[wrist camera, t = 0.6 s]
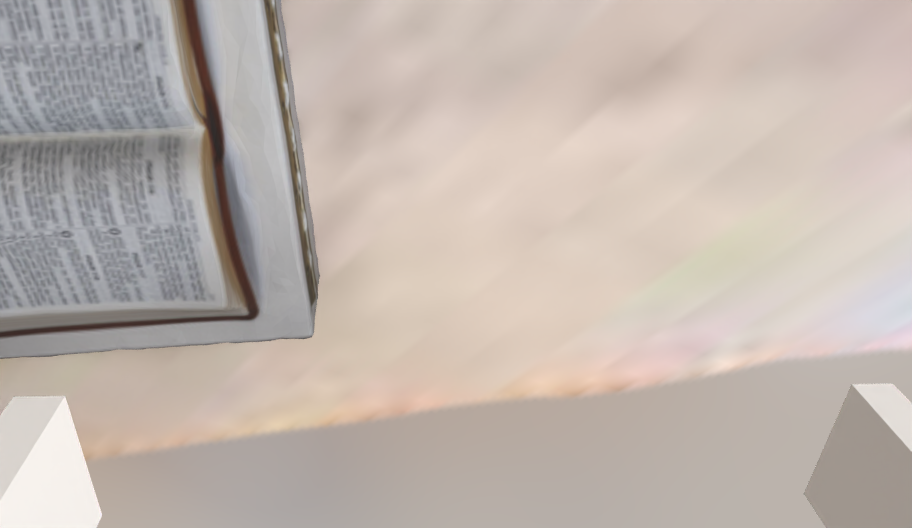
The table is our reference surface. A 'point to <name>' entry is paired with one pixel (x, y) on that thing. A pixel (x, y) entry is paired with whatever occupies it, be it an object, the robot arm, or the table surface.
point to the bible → (150, 177)
